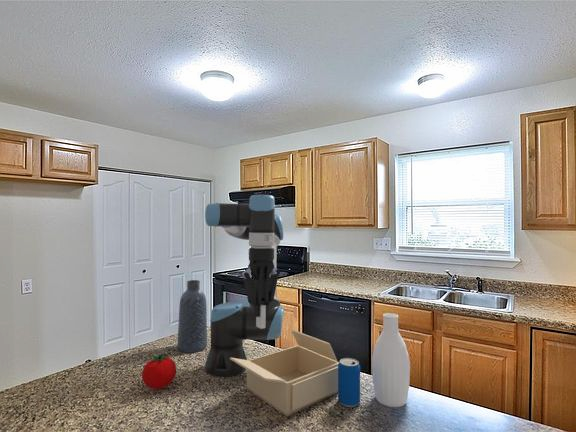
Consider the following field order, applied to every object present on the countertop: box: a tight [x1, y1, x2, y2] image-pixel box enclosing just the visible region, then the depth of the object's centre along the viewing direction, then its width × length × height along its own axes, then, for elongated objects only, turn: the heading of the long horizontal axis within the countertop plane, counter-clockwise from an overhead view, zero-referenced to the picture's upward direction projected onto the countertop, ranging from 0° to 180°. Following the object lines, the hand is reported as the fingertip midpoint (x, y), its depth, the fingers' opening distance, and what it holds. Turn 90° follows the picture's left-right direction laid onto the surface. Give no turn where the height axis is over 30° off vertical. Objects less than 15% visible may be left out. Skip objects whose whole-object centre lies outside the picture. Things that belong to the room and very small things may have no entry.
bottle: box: [371, 312, 411, 408], centre depth 102 cm, size 11×11×25 cm
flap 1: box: [230, 357, 284, 383], centre depth 97 cm, size 18×1×7 cm
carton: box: [246, 344, 340, 418], centre depth 107 cm, size 22×22×9 cm
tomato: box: [141, 353, 177, 390], centre depth 108 cm, size 10×10×10 cm
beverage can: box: [337, 357, 361, 408], centre depth 100 cm, size 6×6×12 cm
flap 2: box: [290, 329, 338, 362], centre depth 112 cm, size 18×1×7 cm, turn 40°
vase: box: [176, 279, 208, 353], centre depth 143 cm, size 12×12×28 cm
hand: (260, 327), depth 99 cm, fingers closed
